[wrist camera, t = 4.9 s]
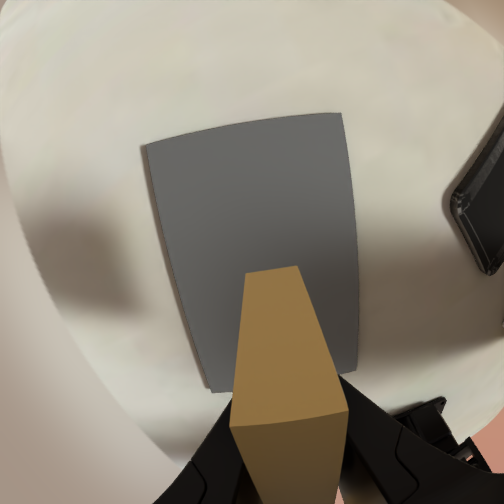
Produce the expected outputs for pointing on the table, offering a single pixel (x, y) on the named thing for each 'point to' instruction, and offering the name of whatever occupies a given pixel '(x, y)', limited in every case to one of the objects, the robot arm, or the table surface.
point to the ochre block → (286, 394)
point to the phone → (483, 205)
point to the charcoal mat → (259, 227)
